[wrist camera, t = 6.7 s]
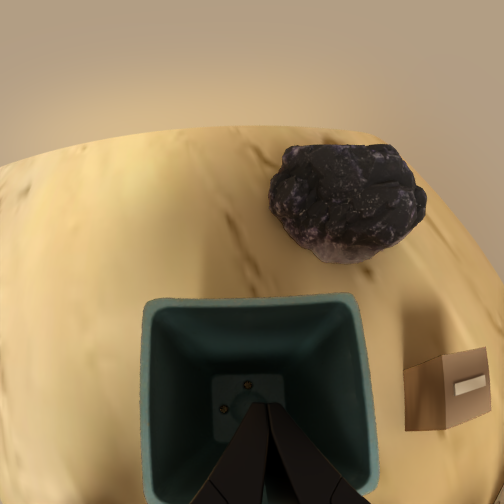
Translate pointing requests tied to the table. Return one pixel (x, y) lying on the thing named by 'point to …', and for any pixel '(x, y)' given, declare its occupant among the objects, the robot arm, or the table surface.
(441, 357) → the numbered block one
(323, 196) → the crystal cluster
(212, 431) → the flower pot
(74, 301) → the table surface
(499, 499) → the supplement box
